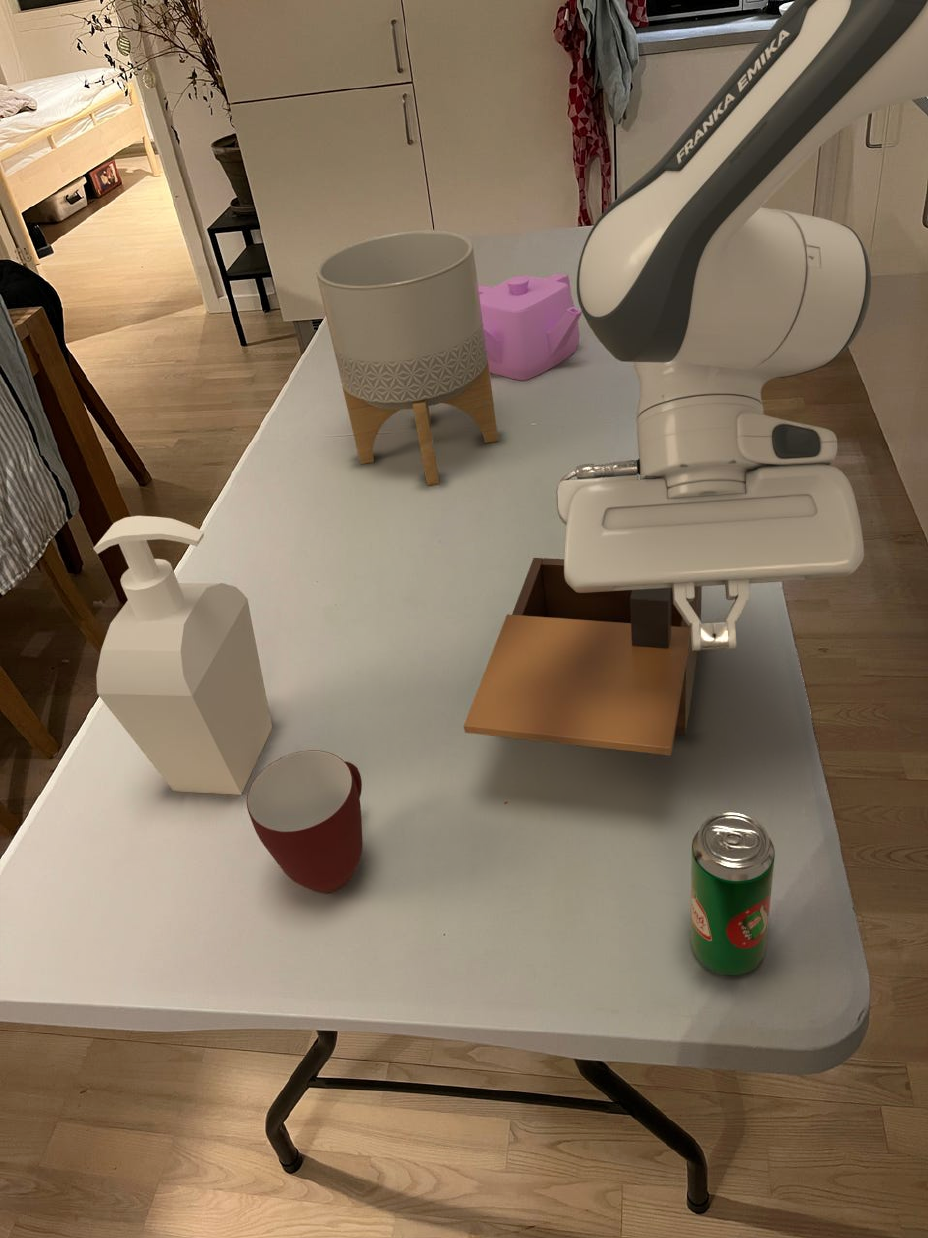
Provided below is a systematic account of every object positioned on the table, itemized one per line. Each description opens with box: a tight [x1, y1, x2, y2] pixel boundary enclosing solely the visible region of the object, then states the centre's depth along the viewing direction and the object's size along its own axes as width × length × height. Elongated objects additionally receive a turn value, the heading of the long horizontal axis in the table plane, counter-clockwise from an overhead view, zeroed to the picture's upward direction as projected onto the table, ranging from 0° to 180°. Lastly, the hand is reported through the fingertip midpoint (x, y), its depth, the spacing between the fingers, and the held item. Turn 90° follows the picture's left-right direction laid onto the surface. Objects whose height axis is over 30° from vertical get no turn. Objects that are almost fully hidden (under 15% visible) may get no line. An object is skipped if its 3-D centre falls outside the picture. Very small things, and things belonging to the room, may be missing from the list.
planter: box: [315, 229, 499, 487], centre depth 122 cm, size 19×19×26 cm
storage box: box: [511, 557, 703, 736], centre depth 89 cm, size 16×14×8 cm
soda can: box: [690, 811, 776, 976], centre depth 64 cm, size 5×5×12 cm
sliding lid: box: [463, 588, 691, 756], centre depth 77 cm, size 16×14×6 cm
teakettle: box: [478, 272, 583, 382], centre depth 145 cm, size 17×17×12 cm
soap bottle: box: [92, 515, 273, 796], centre depth 81 cm, size 12×10×26 cm
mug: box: [246, 749, 363, 894], centre depth 75 cm, size 11×8×10 cm
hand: (713, 649), depth 67 cm, fingers closed
